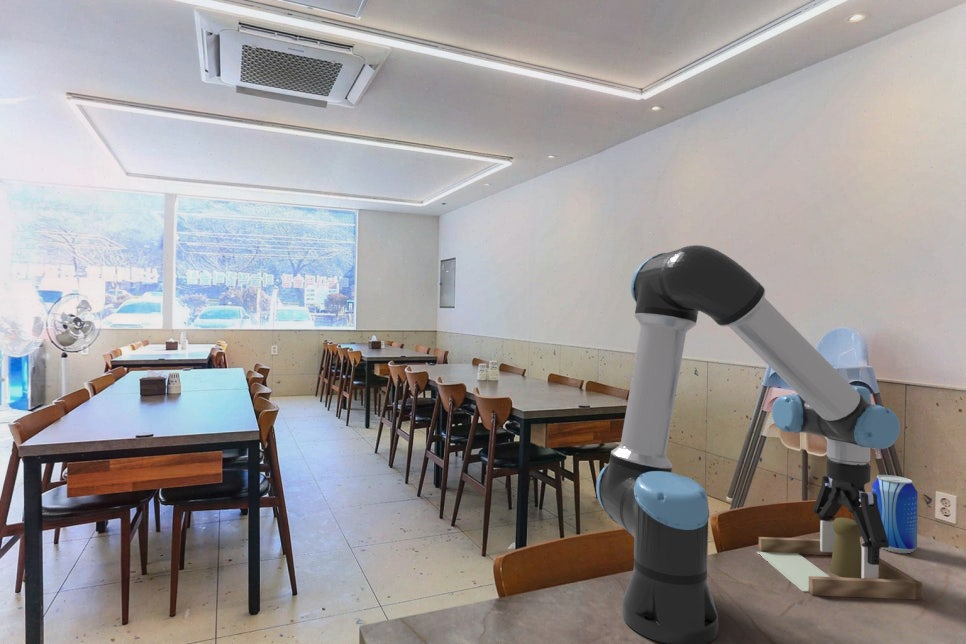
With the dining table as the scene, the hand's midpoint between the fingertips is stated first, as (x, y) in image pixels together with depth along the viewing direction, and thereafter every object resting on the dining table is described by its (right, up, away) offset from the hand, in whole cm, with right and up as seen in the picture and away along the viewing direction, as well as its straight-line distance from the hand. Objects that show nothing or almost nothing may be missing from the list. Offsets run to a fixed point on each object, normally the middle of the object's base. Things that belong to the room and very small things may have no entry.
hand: (847, 564), depth 111 cm
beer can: (+20, -3, +14) cm, 25 cm away
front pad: (-10, -1, 0) cm, 10 cm away
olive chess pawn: (0, -2, 0) cm, 2 cm away
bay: (-3, -2, 0) cm, 3 cm away
